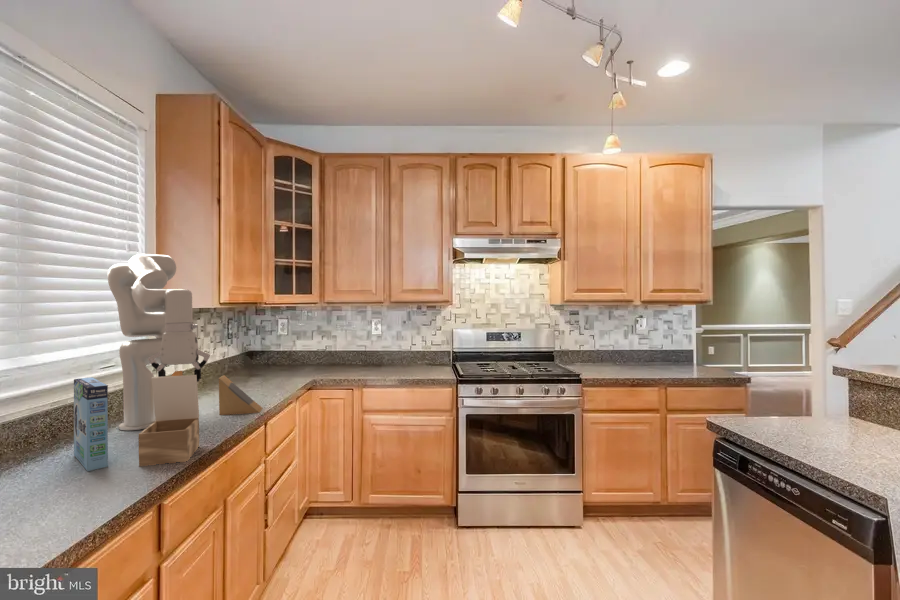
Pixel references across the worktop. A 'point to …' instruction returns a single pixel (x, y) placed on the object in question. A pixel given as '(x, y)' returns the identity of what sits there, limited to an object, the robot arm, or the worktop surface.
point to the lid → (175, 397)
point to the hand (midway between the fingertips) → (180, 382)
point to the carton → (168, 441)
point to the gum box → (91, 423)
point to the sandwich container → (234, 399)
